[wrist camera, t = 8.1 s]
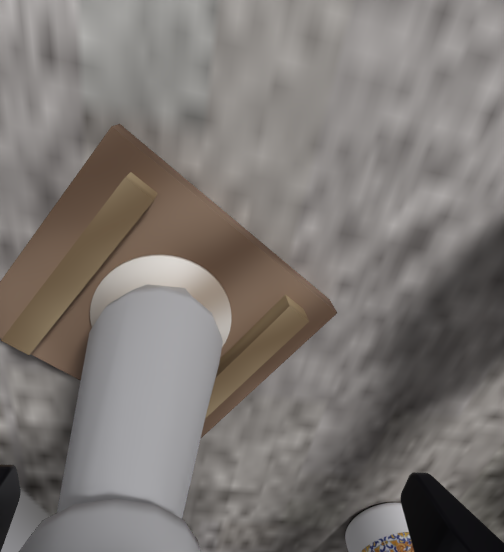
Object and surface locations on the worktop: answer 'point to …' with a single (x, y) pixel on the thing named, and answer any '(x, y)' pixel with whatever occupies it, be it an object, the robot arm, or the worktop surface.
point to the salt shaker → (136, 427)
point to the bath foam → (379, 530)
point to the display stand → (154, 271)
